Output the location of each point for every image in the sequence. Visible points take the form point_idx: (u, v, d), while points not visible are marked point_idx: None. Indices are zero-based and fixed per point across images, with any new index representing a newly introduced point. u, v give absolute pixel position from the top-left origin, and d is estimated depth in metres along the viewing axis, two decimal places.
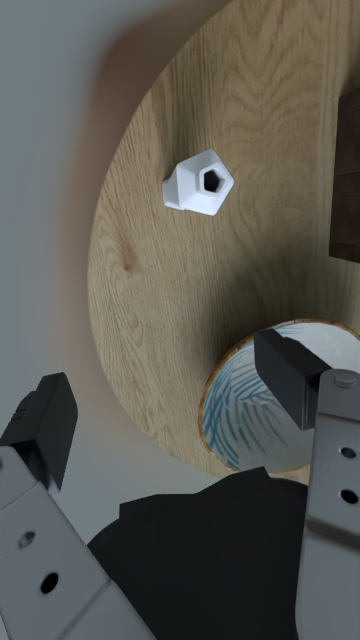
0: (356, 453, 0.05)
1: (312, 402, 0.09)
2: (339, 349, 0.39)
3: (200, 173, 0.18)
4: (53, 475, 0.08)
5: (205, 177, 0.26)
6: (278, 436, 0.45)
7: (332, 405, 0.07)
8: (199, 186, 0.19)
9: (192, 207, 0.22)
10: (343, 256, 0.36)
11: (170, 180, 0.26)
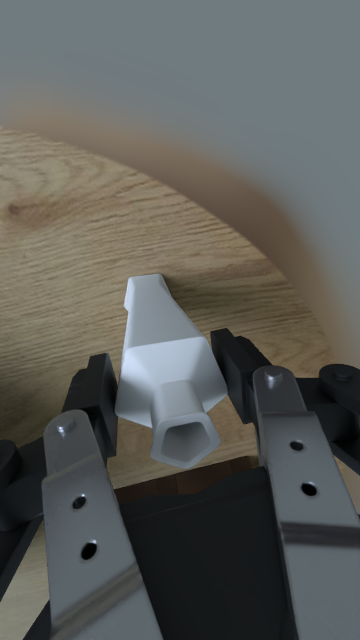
0: (303, 444, 0.06)
1: (249, 397, 0.09)
2: None
3: (200, 415, 0.08)
4: (111, 440, 0.09)
5: None
6: None
7: (269, 402, 0.07)
8: (171, 405, 0.09)
9: (127, 373, 0.10)
10: None
11: (168, 300, 0.15)
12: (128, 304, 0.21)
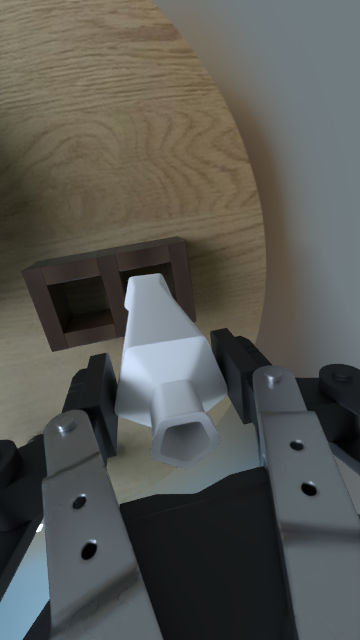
0: (303, 444, 0.06)
1: (249, 396, 0.09)
2: None
3: (200, 414, 0.08)
4: (111, 439, 0.09)
5: None
6: None
7: (269, 402, 0.07)
8: (171, 405, 0.09)
9: (127, 373, 0.10)
10: (34, 264, 0.33)
11: (168, 300, 0.15)
12: (128, 304, 0.21)
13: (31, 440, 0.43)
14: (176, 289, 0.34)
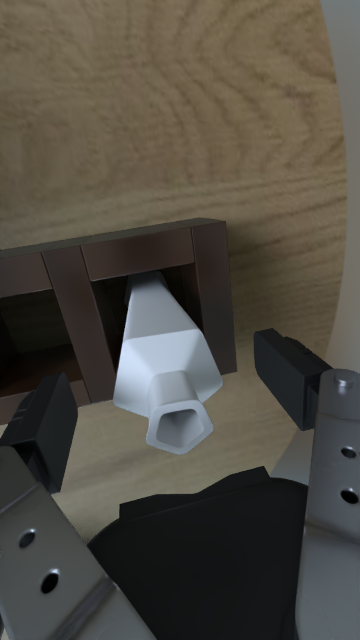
0: (356, 453, 0.05)
1: (312, 402, 0.09)
2: None
3: (193, 402, 0.08)
4: (53, 476, 0.08)
5: None
6: None
7: (332, 405, 0.07)
8: (166, 393, 0.09)
9: (125, 365, 0.11)
10: None
11: (166, 296, 0.16)
12: (128, 300, 0.21)
13: None
14: (203, 315, 0.17)
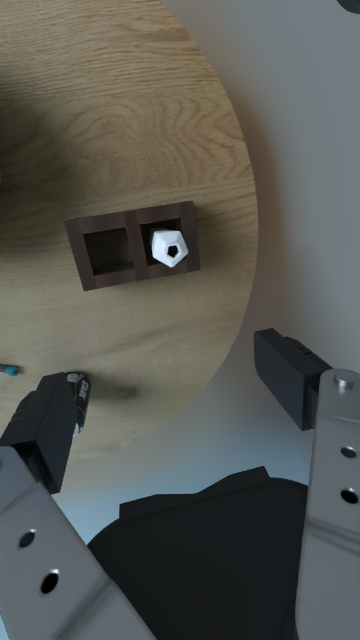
0: (356, 453, 0.05)
1: (312, 402, 0.09)
2: None
3: (177, 243, 0.33)
4: (53, 475, 0.08)
5: (171, 253, 0.41)
6: None
7: (332, 405, 0.07)
8: (169, 243, 0.33)
9: (157, 241, 0.35)
10: None
11: None
12: (151, 240, 0.45)
13: None
14: (184, 241, 0.42)
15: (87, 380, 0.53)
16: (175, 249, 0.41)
